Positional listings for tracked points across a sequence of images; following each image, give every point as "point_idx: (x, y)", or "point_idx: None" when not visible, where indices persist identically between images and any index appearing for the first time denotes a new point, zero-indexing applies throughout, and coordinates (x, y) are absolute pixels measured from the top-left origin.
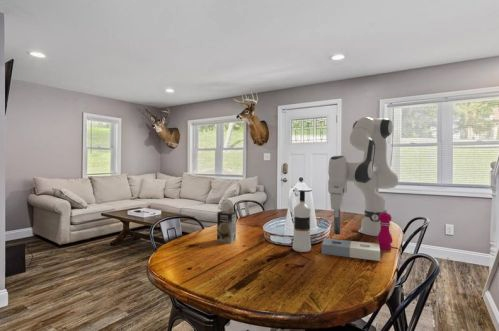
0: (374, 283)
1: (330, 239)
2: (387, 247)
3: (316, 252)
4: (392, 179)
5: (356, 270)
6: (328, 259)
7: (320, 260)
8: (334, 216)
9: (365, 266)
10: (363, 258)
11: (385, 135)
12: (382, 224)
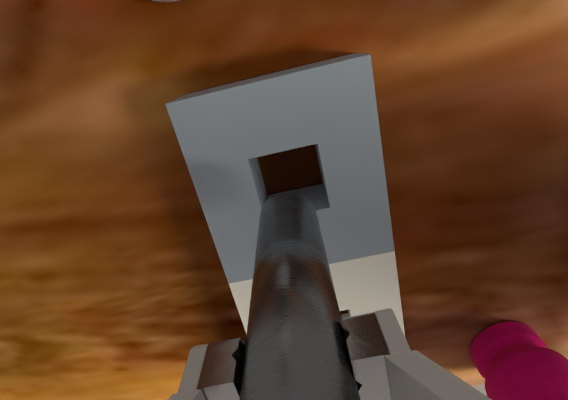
0: (9, 385)
1: (353, 114)
2: (478, 370)
3: (184, 54)
4: None
5: (78, 316)
6: (114, 171)
7: (61, 139)
8: (255, 319)
9: (156, 332)
10: None
11: None
12: None
